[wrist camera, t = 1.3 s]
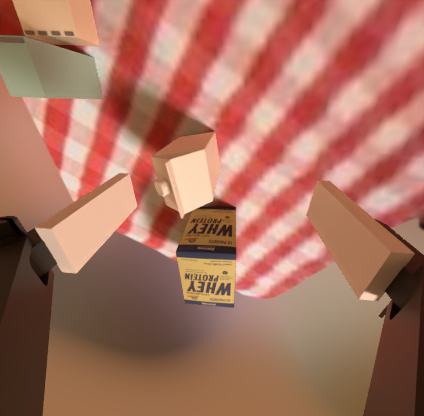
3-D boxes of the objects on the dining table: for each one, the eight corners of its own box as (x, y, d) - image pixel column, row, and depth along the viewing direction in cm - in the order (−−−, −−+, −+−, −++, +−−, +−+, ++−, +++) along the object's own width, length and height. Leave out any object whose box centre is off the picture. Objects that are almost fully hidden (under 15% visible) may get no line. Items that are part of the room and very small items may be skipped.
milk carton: (215, 131, 35) (199, 158, 18) (220, 167, 38) (210, 216, 22) (179, 136, 36) (135, 166, 20) (187, 170, 39) (155, 220, 23)
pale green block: (66, 56, 31) (-19, 34, 21) (93, 57, 31) (22, 35, 20) (77, 97, 34) (9, 96, 24) (103, 98, 34) (44, 98, 23)
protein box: (236, 205, 43) (237, 253, 29) (234, 254, 50) (234, 309, 37) (192, 205, 44) (174, 250, 30) (197, 252, 52) (184, 305, 38)
